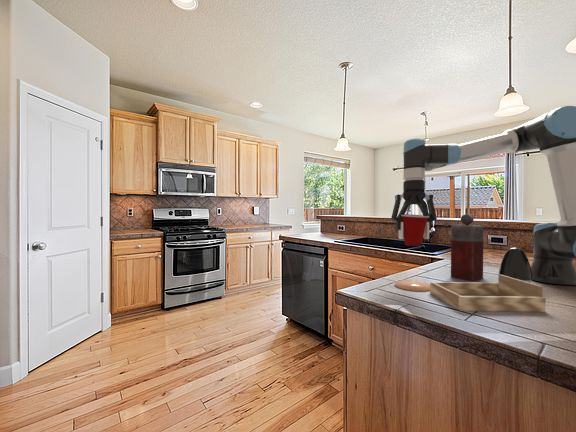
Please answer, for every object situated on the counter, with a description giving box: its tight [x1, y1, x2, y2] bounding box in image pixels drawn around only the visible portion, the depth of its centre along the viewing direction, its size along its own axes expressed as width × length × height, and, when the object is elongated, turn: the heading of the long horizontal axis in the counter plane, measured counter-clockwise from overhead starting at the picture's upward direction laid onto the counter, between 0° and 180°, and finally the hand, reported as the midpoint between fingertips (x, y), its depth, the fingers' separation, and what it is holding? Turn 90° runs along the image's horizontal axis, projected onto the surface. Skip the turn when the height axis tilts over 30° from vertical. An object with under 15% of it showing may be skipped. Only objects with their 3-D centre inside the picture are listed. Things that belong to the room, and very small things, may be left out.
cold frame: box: [429, 274, 546, 313], centre depth 89 cm, size 24×18×7 cm
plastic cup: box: [401, 213, 429, 247], centre depth 108 cm, size 11×11×12 cm
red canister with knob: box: [450, 213, 484, 282], centre depth 120 cm, size 9×11×28 cm
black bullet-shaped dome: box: [498, 246, 533, 283], centre depth 109 cm, size 10×10×15 cm
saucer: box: [394, 279, 430, 292], centre depth 108 cm, size 13×13×1 cm
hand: (413, 238), depth 108 cm, fingers closed on plastic cup, 9 cm apart
